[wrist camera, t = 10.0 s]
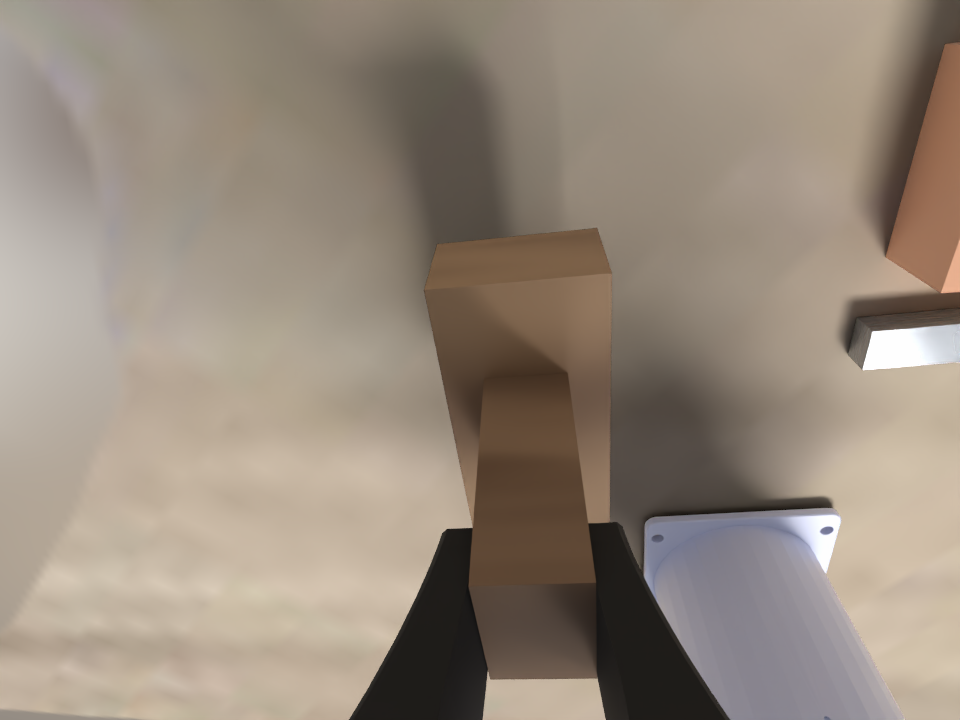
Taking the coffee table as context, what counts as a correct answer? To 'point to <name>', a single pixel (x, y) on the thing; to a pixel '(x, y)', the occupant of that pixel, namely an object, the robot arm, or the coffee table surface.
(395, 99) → the coffee table surface
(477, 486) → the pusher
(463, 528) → the robot arm
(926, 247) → the tile
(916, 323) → the frame
